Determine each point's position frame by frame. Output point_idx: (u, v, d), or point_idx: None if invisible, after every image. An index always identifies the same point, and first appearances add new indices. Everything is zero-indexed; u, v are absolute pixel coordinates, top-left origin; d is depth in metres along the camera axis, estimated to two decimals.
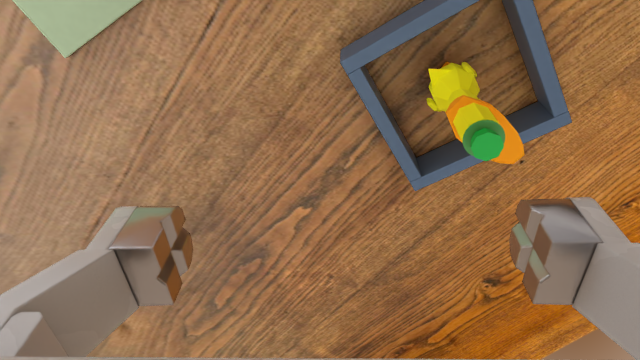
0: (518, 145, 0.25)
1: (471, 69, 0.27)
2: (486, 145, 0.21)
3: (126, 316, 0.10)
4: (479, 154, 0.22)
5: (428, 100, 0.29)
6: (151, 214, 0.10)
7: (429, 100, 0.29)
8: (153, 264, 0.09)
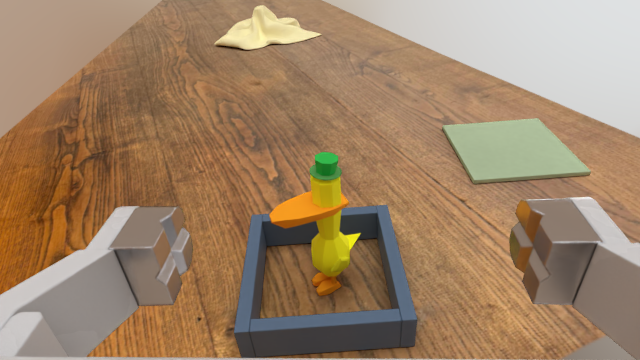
0: (286, 217, 0.28)
1: (343, 259, 0.31)
2: (327, 157, 0.28)
3: (126, 316, 0.10)
4: (322, 154, 0.28)
5: None
6: (151, 214, 0.10)
7: None
8: (153, 264, 0.09)
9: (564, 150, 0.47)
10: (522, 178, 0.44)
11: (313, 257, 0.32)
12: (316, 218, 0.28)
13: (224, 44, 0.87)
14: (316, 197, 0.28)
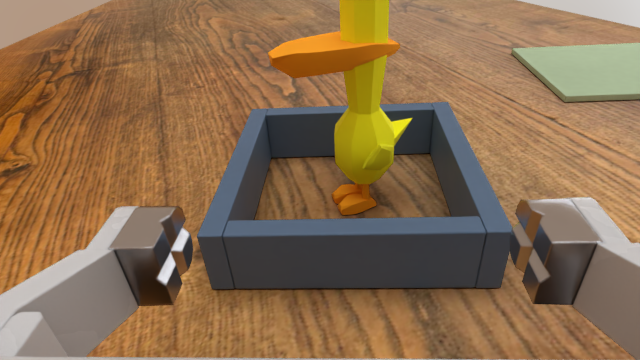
0: (295, 51, 0.17)
1: (385, 146, 0.19)
2: None
3: (126, 316, 0.10)
4: None
5: None
6: (151, 214, 0.10)
7: None
8: (153, 264, 0.09)
9: None
10: (636, 96, 0.31)
11: (336, 146, 0.20)
12: (345, 57, 0.17)
13: None
14: (347, 24, 0.17)
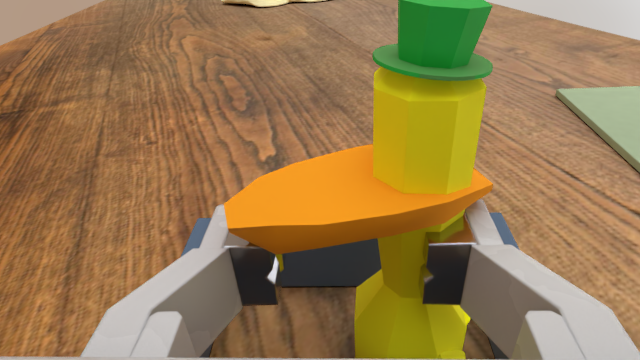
0: (276, 217, 0.08)
1: None
2: (448, 0, 0.07)
3: (232, 316, 0.09)
4: None
5: None
6: None
7: None
8: (266, 263, 0.09)
9: None
10: None
11: (358, 339, 0.11)
12: (384, 229, 0.08)
13: (232, 1, 0.68)
14: (389, 155, 0.08)
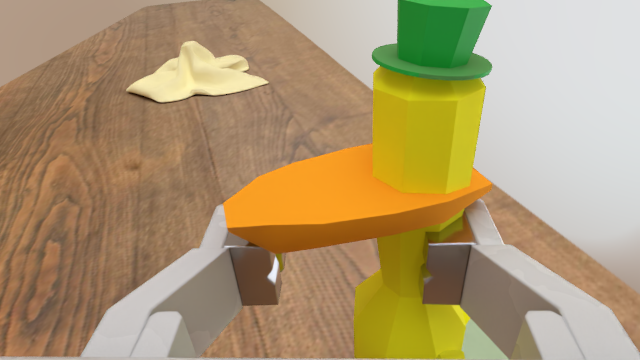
0: (275, 216, 0.08)
1: None
2: None
3: (232, 316, 0.09)
4: None
5: None
6: None
7: None
8: (266, 263, 0.09)
9: None
10: None
11: (358, 338, 0.11)
12: (383, 228, 0.08)
13: (135, 92, 0.65)
14: (388, 155, 0.08)
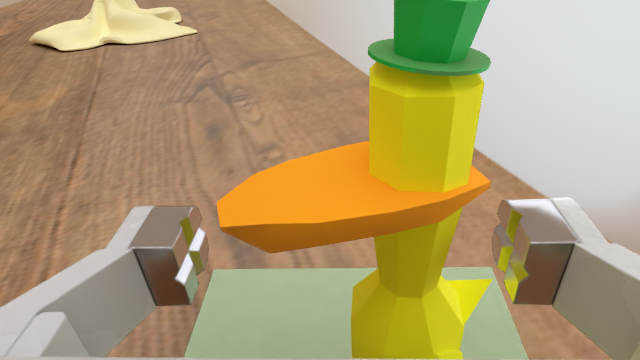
0: (269, 215, 0.08)
1: None
2: None
3: (144, 316, 0.09)
4: None
5: None
6: (168, 214, 0.10)
7: None
8: (172, 264, 0.09)
9: None
10: None
11: (355, 338, 0.11)
12: (380, 227, 0.08)
13: (38, 41, 0.55)
14: (385, 152, 0.08)
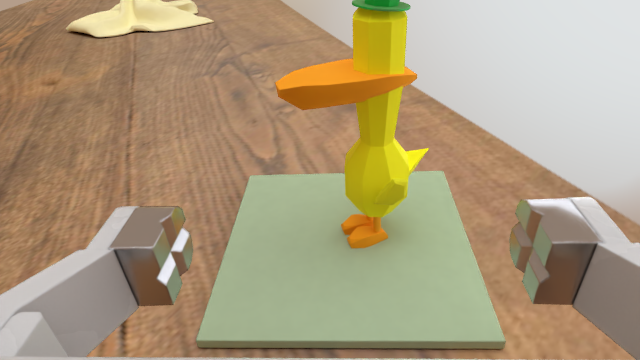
0: (303, 83, 0.16)
1: (398, 182, 0.18)
2: None
3: (126, 316, 0.10)
4: None
5: None
6: (151, 214, 0.10)
7: None
8: (153, 264, 0.09)
9: (463, 261, 0.19)
10: (322, 344, 0.17)
11: (347, 178, 0.19)
12: (358, 90, 0.16)
13: (74, 29, 0.63)
14: (360, 54, 0.16)
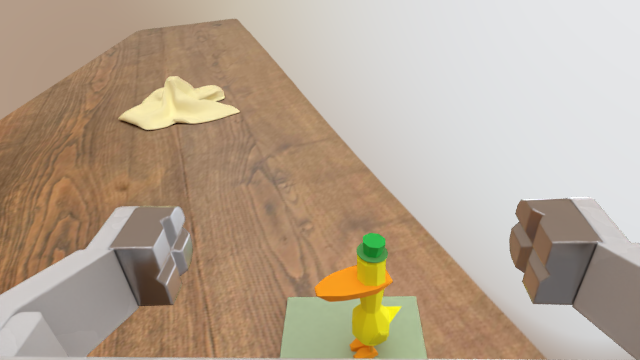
0: (330, 293, 0.29)
1: (383, 333, 0.32)
2: (375, 240, 0.28)
3: (126, 316, 0.10)
4: (370, 235, 0.29)
5: None
6: (151, 214, 0.10)
7: None
8: (153, 264, 0.09)
9: None
10: None
11: (353, 327, 0.33)
12: (359, 296, 0.29)
13: (126, 120, 0.76)
14: (361, 275, 0.29)
